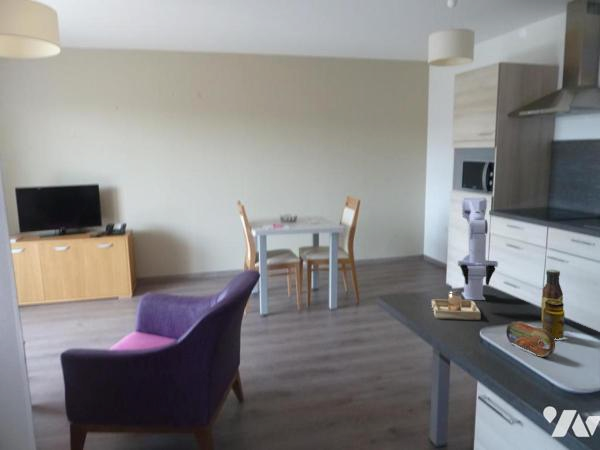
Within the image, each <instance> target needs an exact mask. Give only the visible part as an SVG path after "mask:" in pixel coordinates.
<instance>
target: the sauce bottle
mask: <svg viewBox="0 0 600 450" xmlns="http://www.w3.org/2000/svg"><path fill="white" fill-rule="evenodd" d="M545 274H546V283H545V285H544V286H543V288H542V297H541V323H542V325H543V310H544V308H545V302H546V301H547V300H557V301H560V302H562V303H563V299H564V296H563V295H564V293H563V290H562V287H561V284H560V275H561V271H560V270H557V269H547V270H546V273H545ZM563 304H564V303H563Z"/></svg>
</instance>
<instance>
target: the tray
mask: <svg viewBox="0 0 600 450" xmlns="http://www.w3.org/2000/svg"><path fill="white" fill-rule="evenodd" d="M430 303H431V305H432V306H431V309H432V308H433V309H432V312H433V311H434V312H433V315H434V317H435V319H436V318H437V320H439V319H440V320H466V321H468V320H469V321H481V317H482V316H481V314H482V313H481V310H480V309H479V308H478V306H477V304H476V303H475V300H466V299H461V311H448V299H443V298H442V299H441V298H439V299H436V298H433V299H431V302H430Z"/></svg>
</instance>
